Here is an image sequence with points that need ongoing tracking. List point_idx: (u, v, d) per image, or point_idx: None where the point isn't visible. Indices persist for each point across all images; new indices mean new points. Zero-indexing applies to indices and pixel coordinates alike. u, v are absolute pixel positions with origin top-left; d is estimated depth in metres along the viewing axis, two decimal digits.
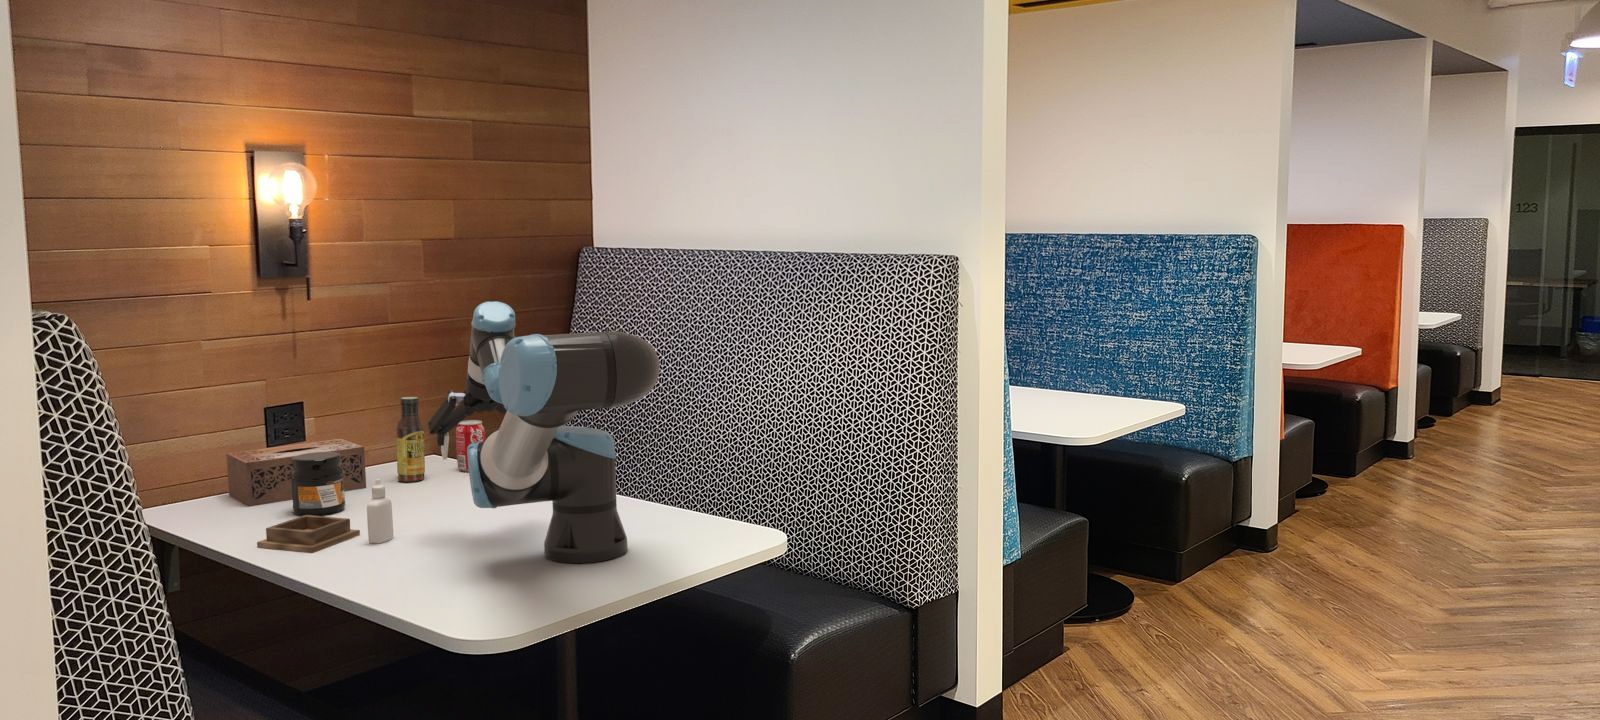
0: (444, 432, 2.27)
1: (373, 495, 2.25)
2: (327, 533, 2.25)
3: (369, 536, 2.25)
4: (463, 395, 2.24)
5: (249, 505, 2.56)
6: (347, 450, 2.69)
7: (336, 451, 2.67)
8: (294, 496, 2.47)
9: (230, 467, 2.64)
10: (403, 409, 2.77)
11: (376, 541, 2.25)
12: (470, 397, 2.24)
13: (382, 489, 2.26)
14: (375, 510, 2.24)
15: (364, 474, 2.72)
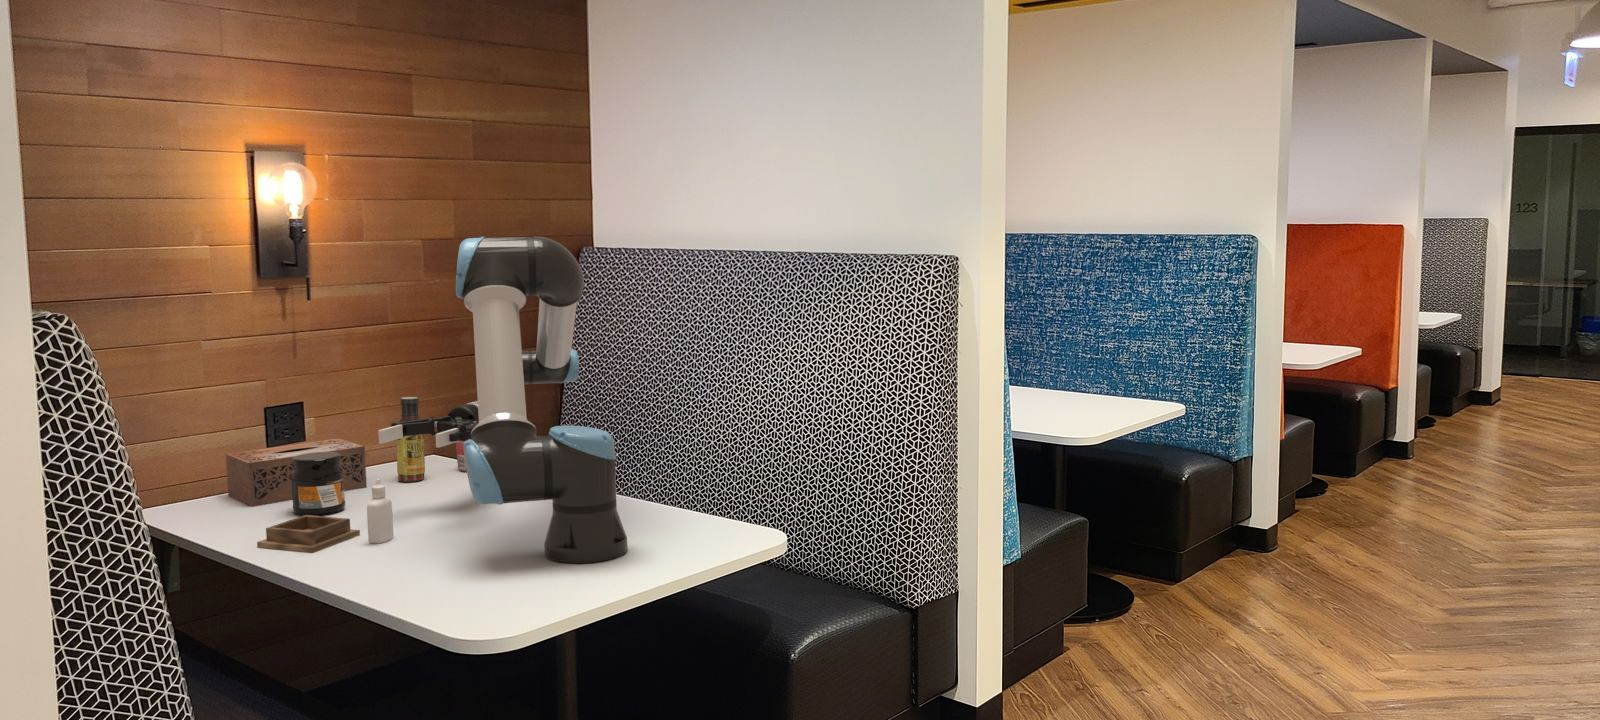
0: (401, 424, 2.44)
1: (373, 495, 2.25)
2: (327, 533, 2.25)
3: (369, 536, 2.25)
4: None
5: (251, 505, 2.56)
6: (348, 450, 2.70)
7: (337, 451, 2.68)
8: (294, 496, 2.47)
9: (230, 468, 2.63)
10: (403, 409, 2.77)
11: (376, 541, 2.25)
12: None
13: (382, 489, 2.26)
14: (375, 510, 2.24)
15: (364, 473, 2.73)
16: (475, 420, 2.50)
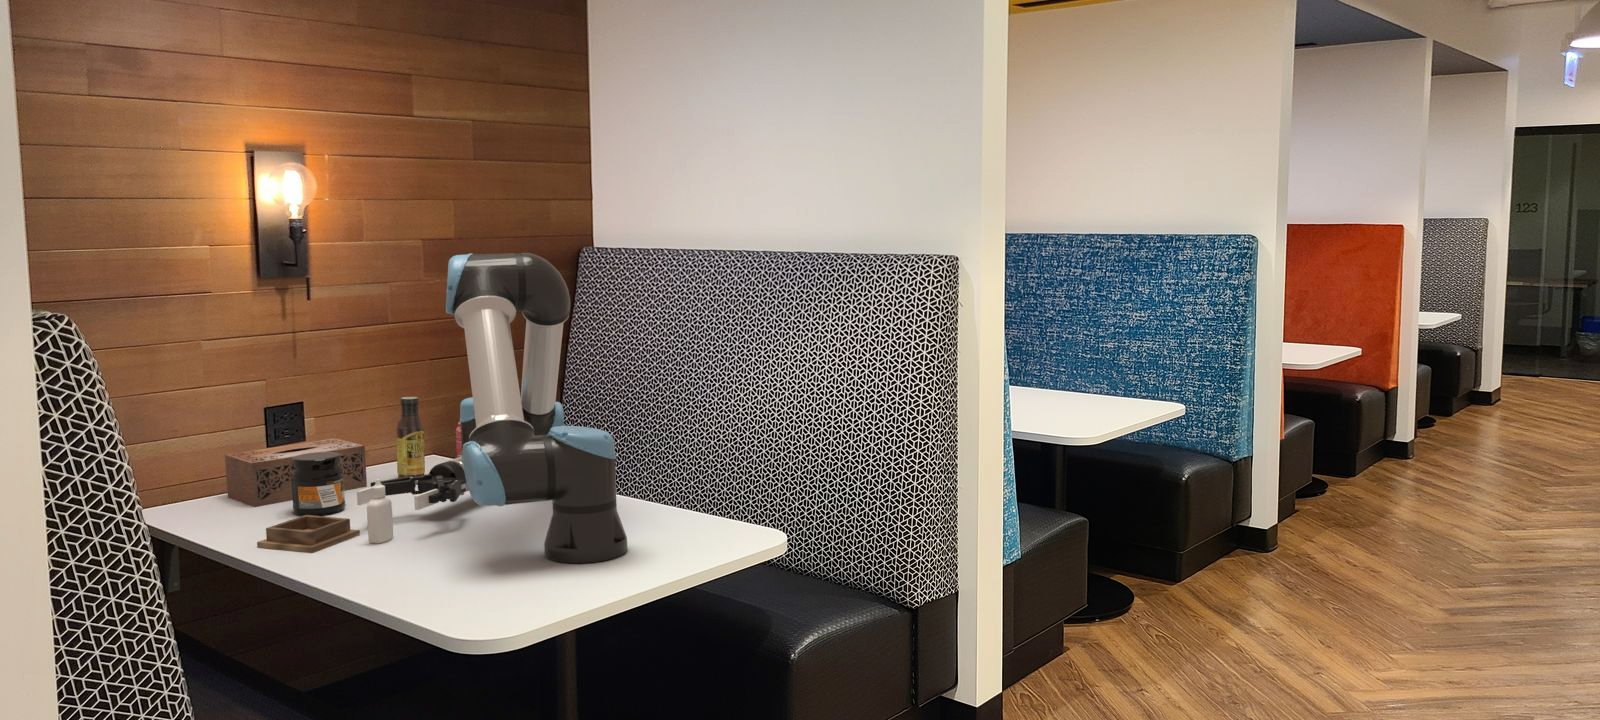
0: (381, 483, 2.39)
1: (373, 495, 2.25)
2: (327, 533, 2.25)
3: (369, 536, 2.25)
4: None
5: (255, 505, 2.56)
6: (348, 449, 2.70)
7: (338, 450, 2.68)
8: (294, 496, 2.47)
9: (230, 468, 2.63)
10: (403, 409, 2.77)
11: (376, 541, 2.25)
12: None
13: (382, 489, 2.26)
14: (375, 510, 2.24)
15: (365, 473, 2.74)
16: (457, 478, 2.45)
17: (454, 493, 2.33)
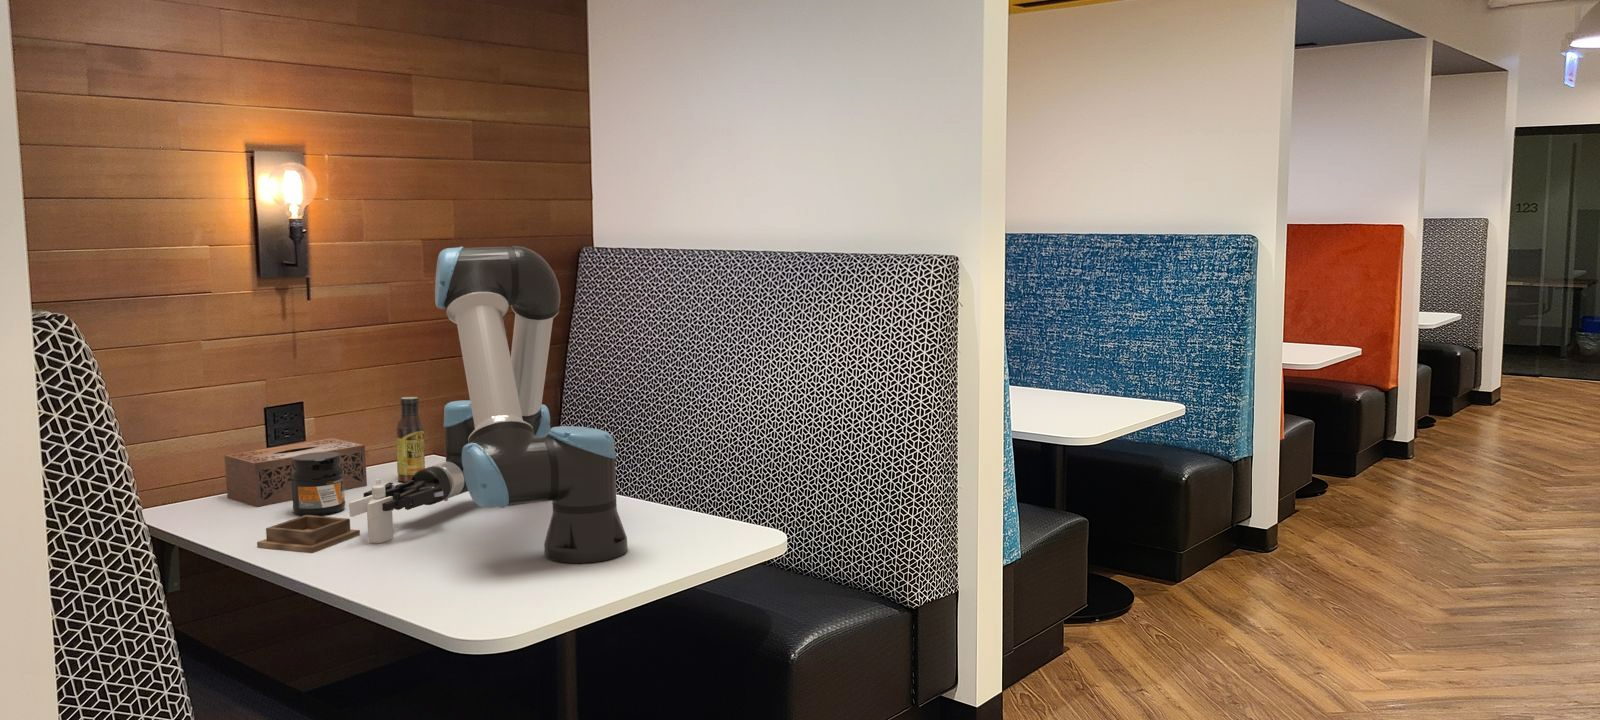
0: None
1: (373, 495, 2.25)
2: (327, 533, 2.25)
3: (369, 536, 2.25)
4: None
5: (258, 506, 2.55)
6: (349, 449, 2.71)
7: (339, 450, 2.69)
8: (294, 496, 2.47)
9: (230, 469, 2.62)
10: (403, 409, 2.77)
11: (376, 541, 2.25)
12: None
13: (382, 489, 2.26)
14: None
15: (365, 472, 2.74)
16: (440, 484, 2.39)
17: (408, 501, 2.27)
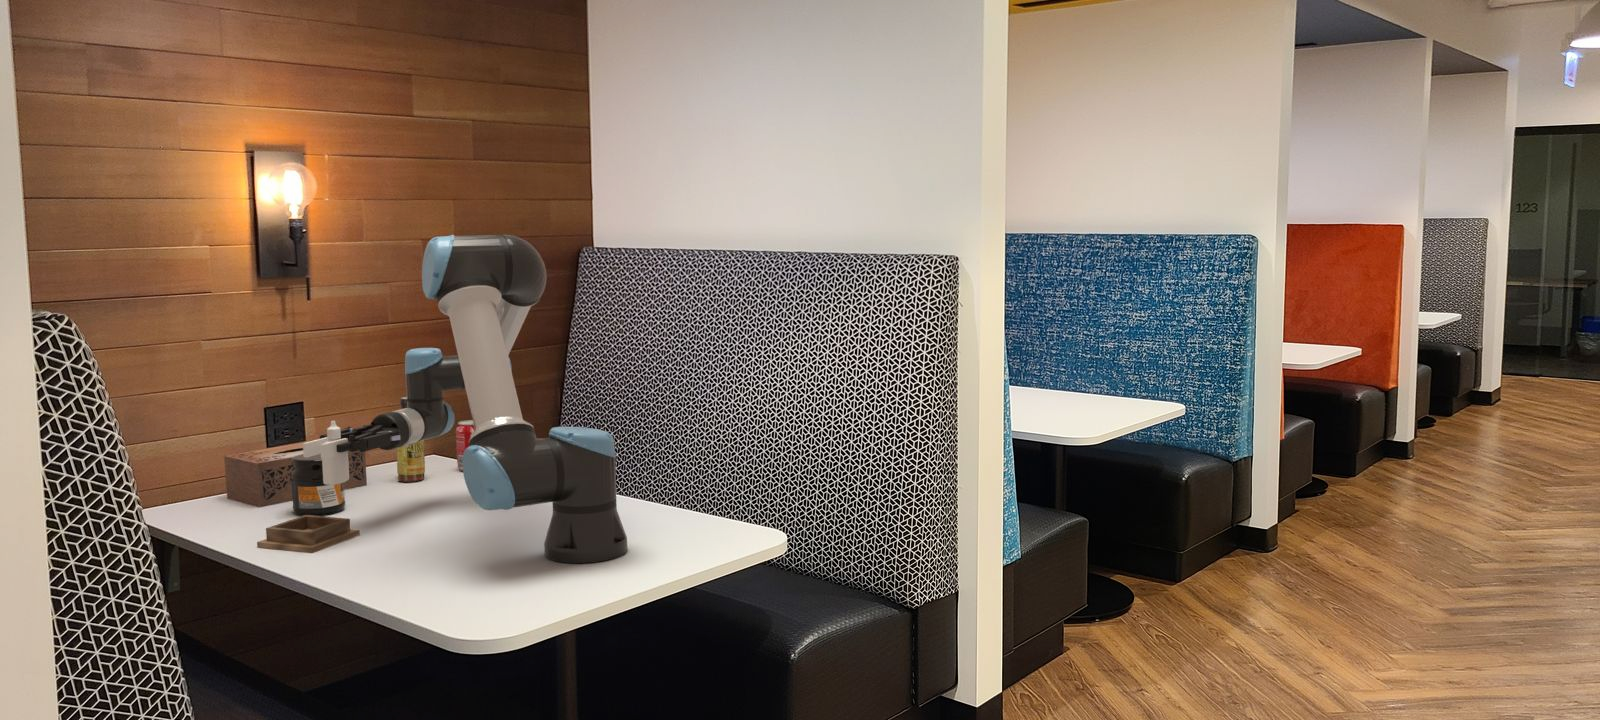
0: None
1: (328, 436, 2.25)
2: (327, 533, 2.25)
3: (324, 477, 2.25)
4: None
5: (260, 506, 2.55)
6: None
7: None
8: (294, 496, 2.47)
9: (230, 469, 2.62)
10: None
11: (330, 482, 2.25)
12: None
13: (337, 431, 2.26)
14: None
15: (365, 471, 2.75)
16: (398, 429, 2.39)
17: (362, 443, 2.27)
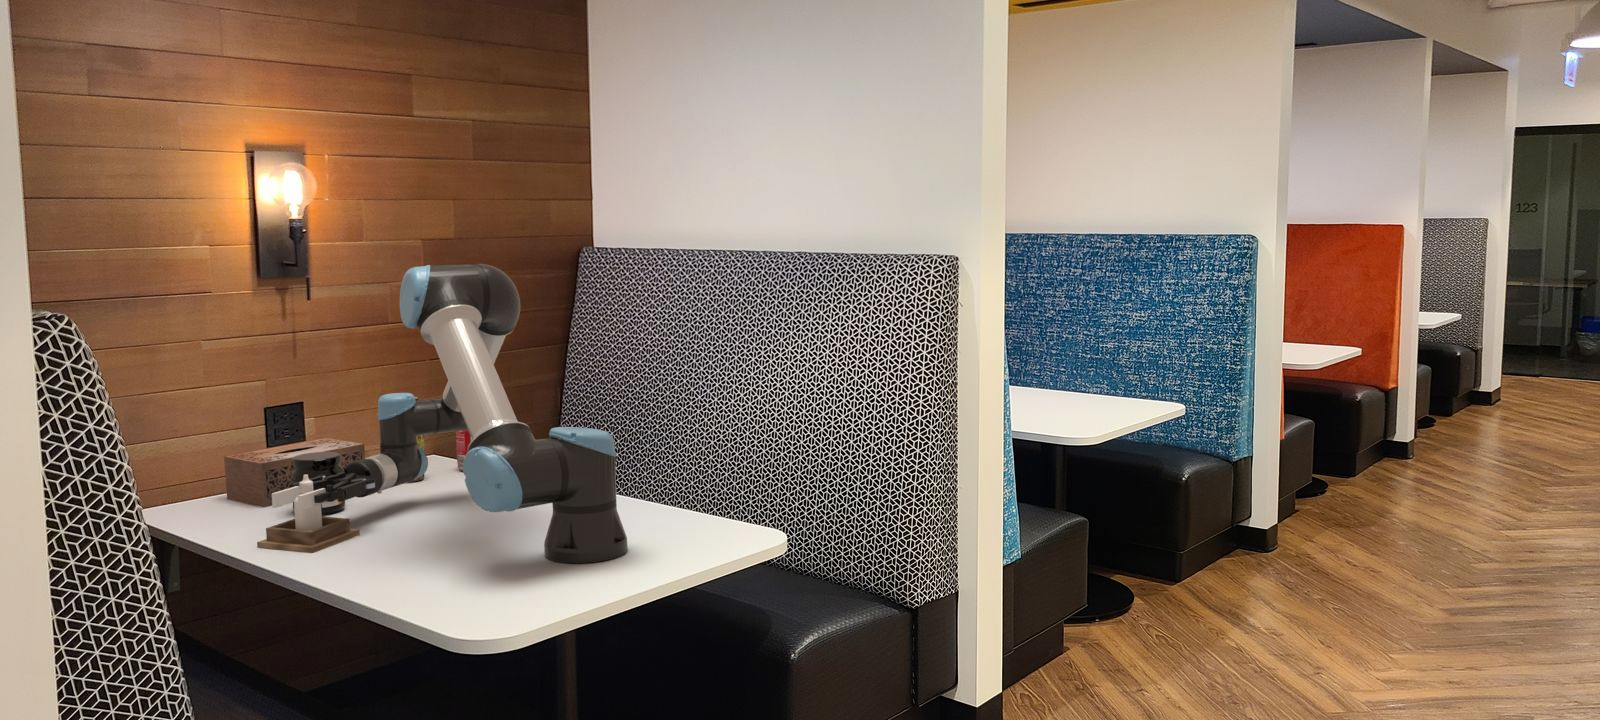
0: None
1: (301, 490, 2.25)
2: (327, 533, 2.25)
3: None
4: None
5: (264, 506, 2.55)
6: (350, 448, 2.72)
7: (340, 449, 2.70)
8: None
9: (231, 470, 2.61)
10: None
11: None
12: None
13: (310, 485, 2.26)
14: None
15: None
16: (371, 476, 2.39)
17: (341, 493, 2.26)
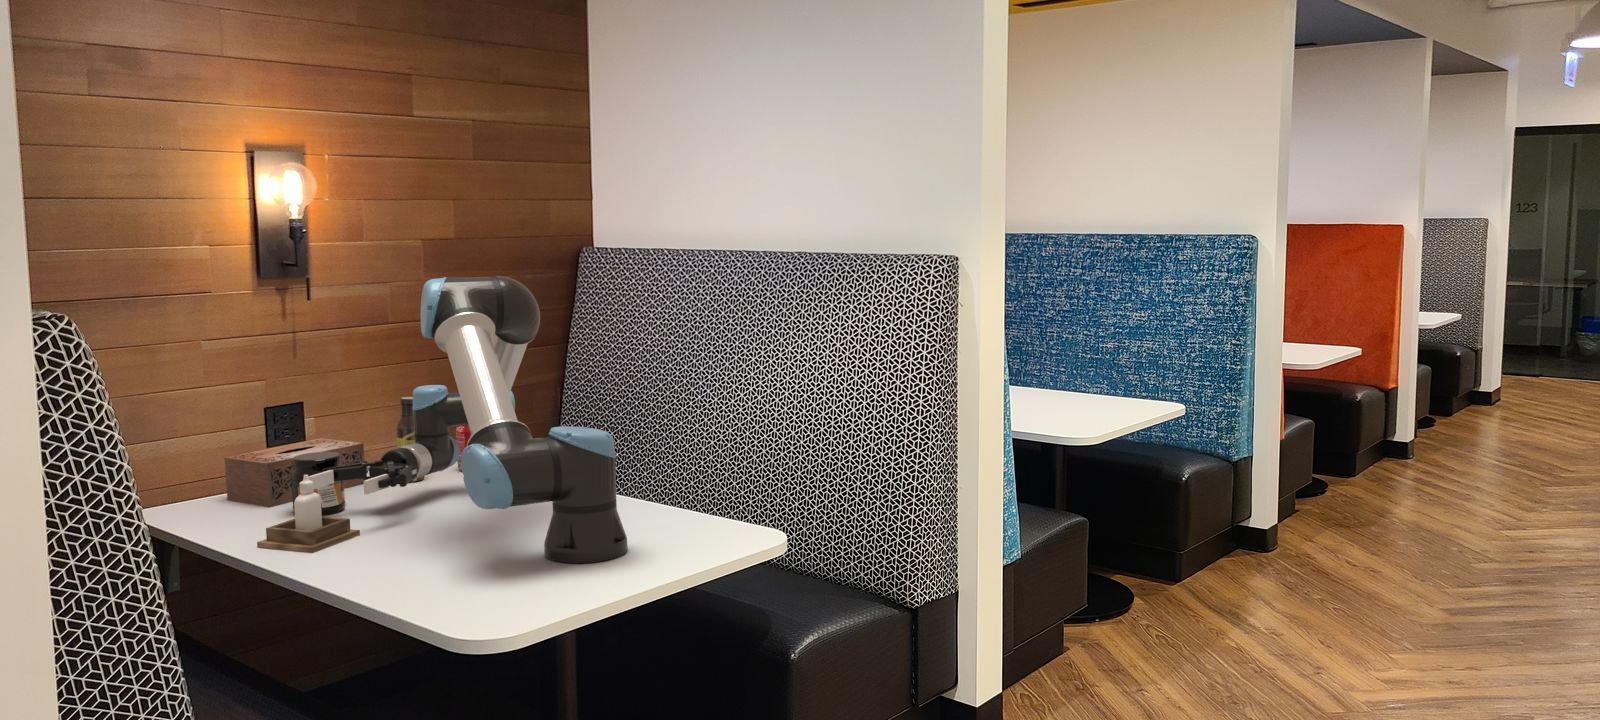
0: (332, 469, 2.44)
1: (301, 491, 2.25)
2: (327, 533, 2.25)
3: None
4: None
5: (270, 506, 2.55)
6: (350, 447, 2.73)
7: (341, 448, 2.71)
8: (294, 496, 2.47)
9: (232, 471, 2.60)
10: (403, 409, 2.77)
11: None
12: None
13: (310, 485, 2.26)
14: (302, 506, 2.24)
15: None
16: (408, 464, 2.50)
17: (404, 478, 2.38)
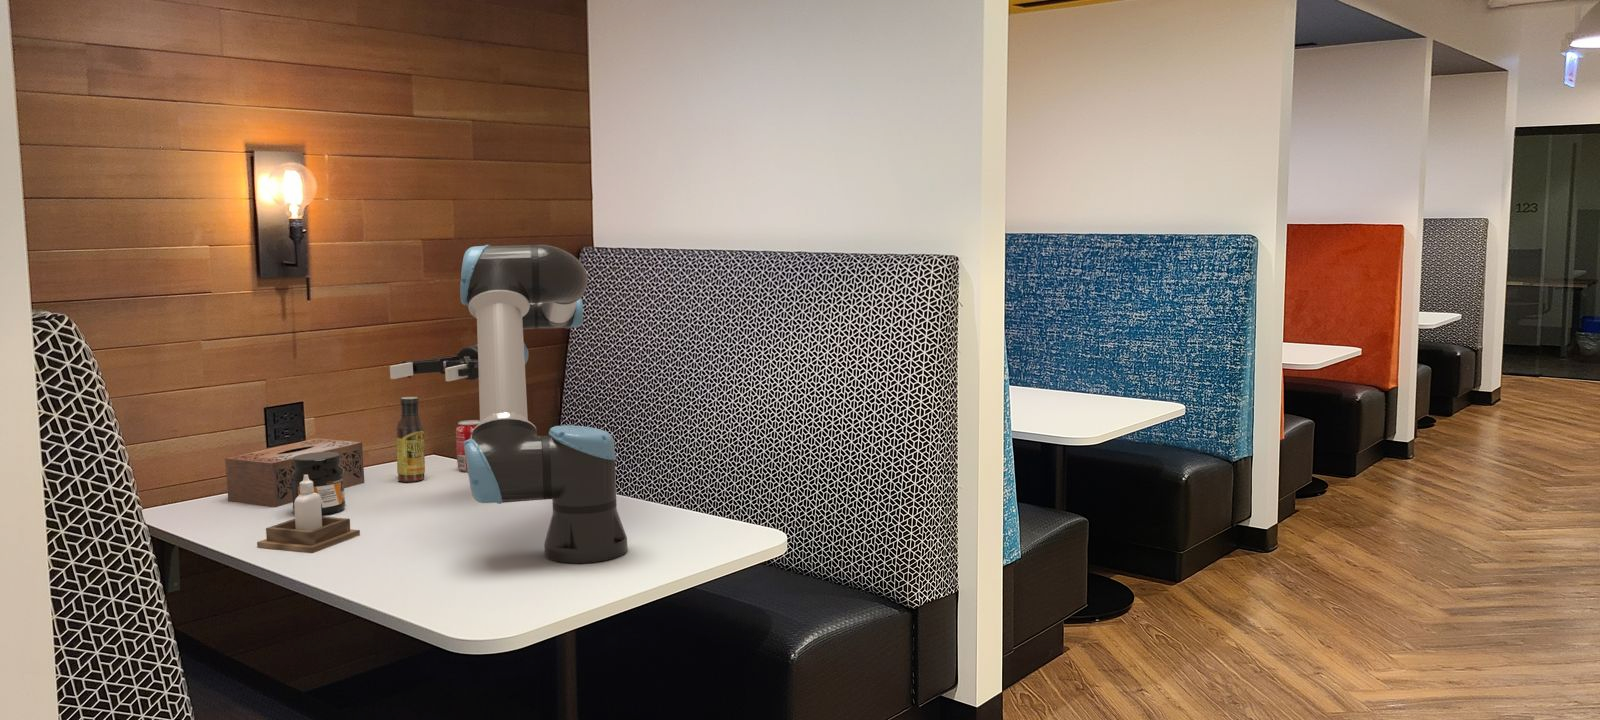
0: (411, 362, 2.52)
1: (301, 491, 2.25)
2: (327, 533, 2.25)
3: None
4: None
5: (275, 506, 2.55)
6: (349, 446, 2.74)
7: (341, 448, 2.71)
8: (294, 496, 2.47)
9: (234, 471, 2.59)
10: (403, 409, 2.77)
11: None
12: None
13: (310, 485, 2.26)
14: (302, 506, 2.24)
15: (362, 469, 2.78)
16: None
17: None
